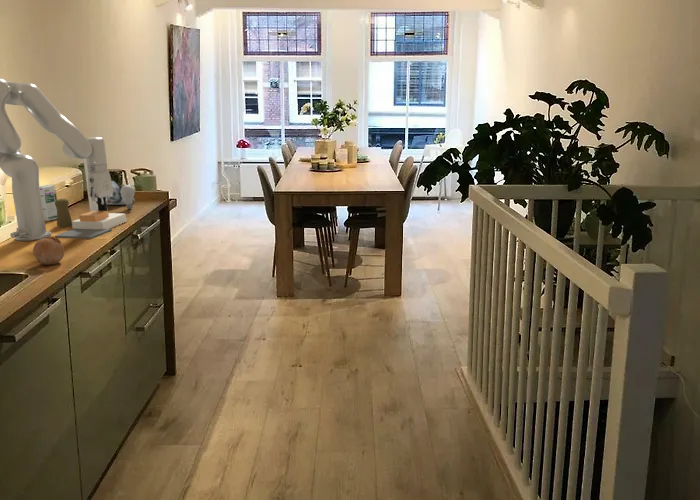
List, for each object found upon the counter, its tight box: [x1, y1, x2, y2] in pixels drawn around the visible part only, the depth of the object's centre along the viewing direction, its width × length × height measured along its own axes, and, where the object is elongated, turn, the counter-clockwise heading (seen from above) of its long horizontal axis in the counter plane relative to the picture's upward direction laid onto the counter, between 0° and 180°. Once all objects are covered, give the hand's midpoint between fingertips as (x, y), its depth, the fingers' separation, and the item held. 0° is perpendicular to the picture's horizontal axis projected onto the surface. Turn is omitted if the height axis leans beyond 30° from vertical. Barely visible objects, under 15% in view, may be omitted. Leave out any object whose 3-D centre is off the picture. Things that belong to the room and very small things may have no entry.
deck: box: [71, 212, 127, 229], centre depth 292 cm, size 16×14×4 cm
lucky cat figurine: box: [107, 180, 136, 206], centre depth 335 cm, size 15×12×14 cm
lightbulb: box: [120, 184, 136, 210], centre depth 323 cm, size 6×6×11 cm
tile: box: [78, 210, 109, 222], centre depth 289 cm, size 9×7×2 cm
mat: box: [54, 228, 112, 240], centre depth 280 cm, size 13×16×1 cm
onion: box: [32, 235, 66, 266], centre depth 238 cm, size 10×9×10 cm
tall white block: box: [82, 159, 109, 212], centre depth 313 cm, size 7×7×25 cm
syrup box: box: [39, 184, 58, 222], centre depth 308 cm, size 6×6×14 cm
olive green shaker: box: [55, 198, 73, 228], centre depth 295 cm, size 6×6×11 cm
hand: (103, 213), depth 294 cm, fingers closed
